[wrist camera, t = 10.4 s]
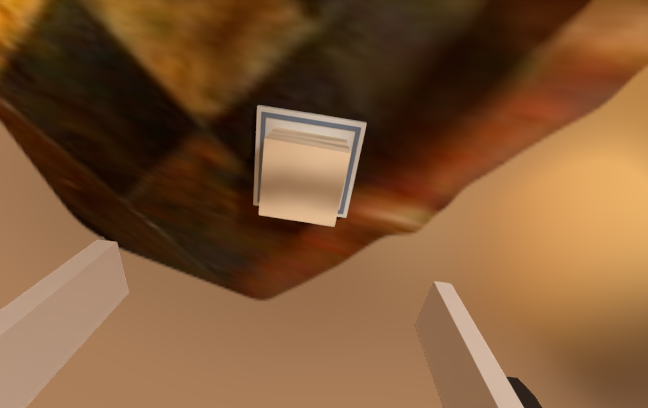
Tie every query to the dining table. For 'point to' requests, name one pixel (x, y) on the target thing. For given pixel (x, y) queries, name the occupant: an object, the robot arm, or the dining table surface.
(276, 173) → the birch block
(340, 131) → the board
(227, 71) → the dining table surface
